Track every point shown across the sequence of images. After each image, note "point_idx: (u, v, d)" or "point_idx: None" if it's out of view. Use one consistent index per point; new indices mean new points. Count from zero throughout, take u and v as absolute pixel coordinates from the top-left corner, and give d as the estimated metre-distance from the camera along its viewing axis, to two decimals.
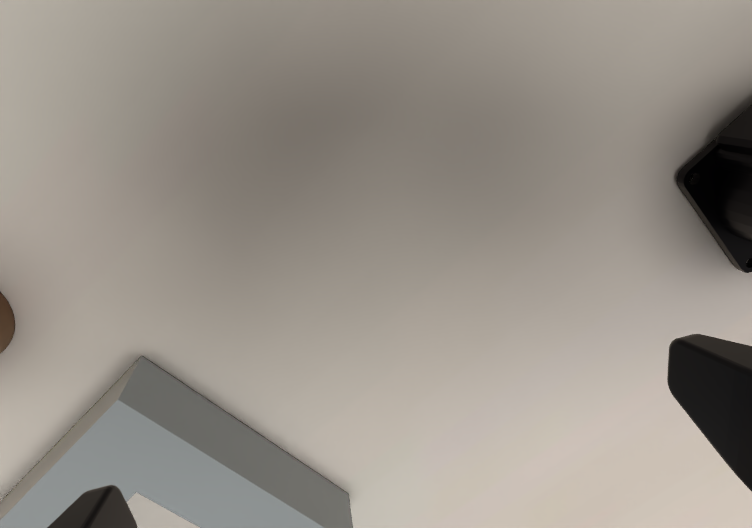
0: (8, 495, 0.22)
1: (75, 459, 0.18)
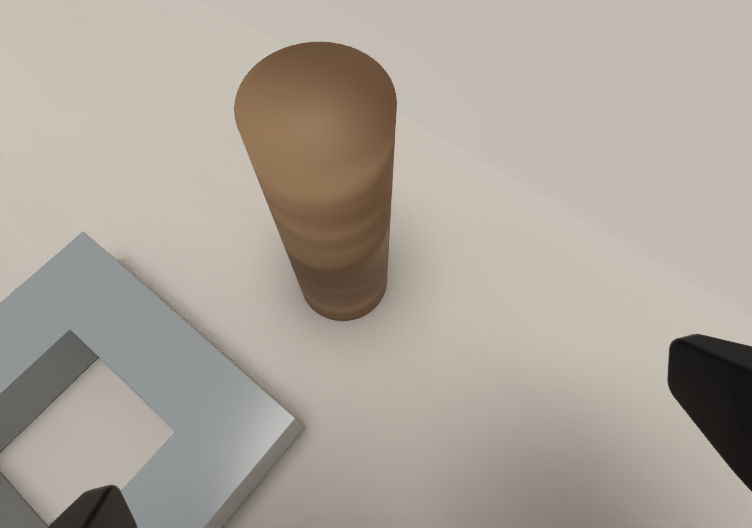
0: (159, 297, 0.23)
1: (226, 374, 0.19)
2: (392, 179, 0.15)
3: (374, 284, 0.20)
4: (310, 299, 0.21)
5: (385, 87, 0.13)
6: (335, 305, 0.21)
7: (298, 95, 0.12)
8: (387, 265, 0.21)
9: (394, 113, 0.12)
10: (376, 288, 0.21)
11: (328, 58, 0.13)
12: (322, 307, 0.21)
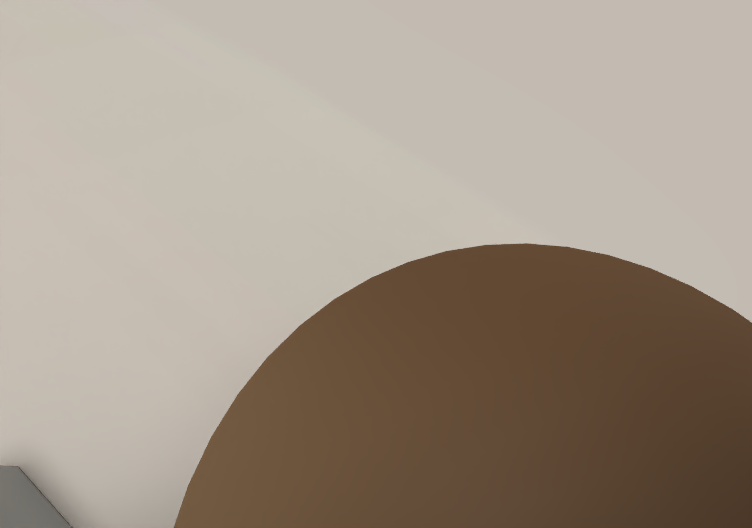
0: None
1: None
2: None
3: None
4: None
5: None
6: None
7: None
8: None
9: None
10: None
11: (572, 330, 0.03)
12: None
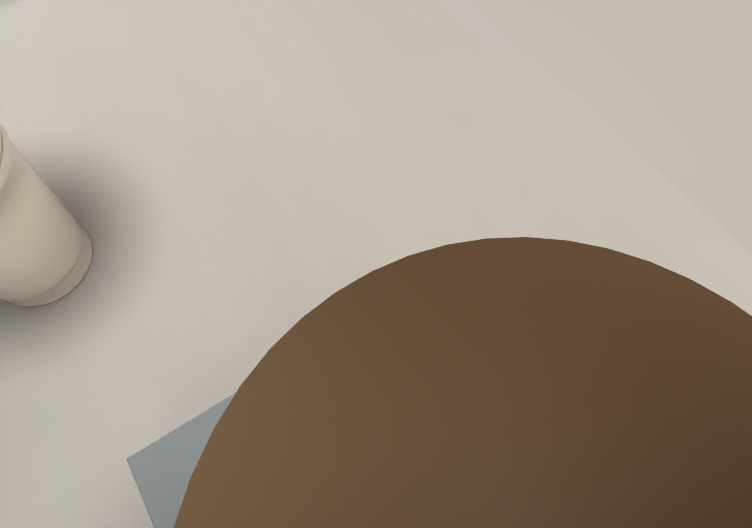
0: None
1: None
2: None
3: None
4: None
5: None
6: None
7: None
8: None
9: None
10: None
11: (571, 323, 0.03)
12: None
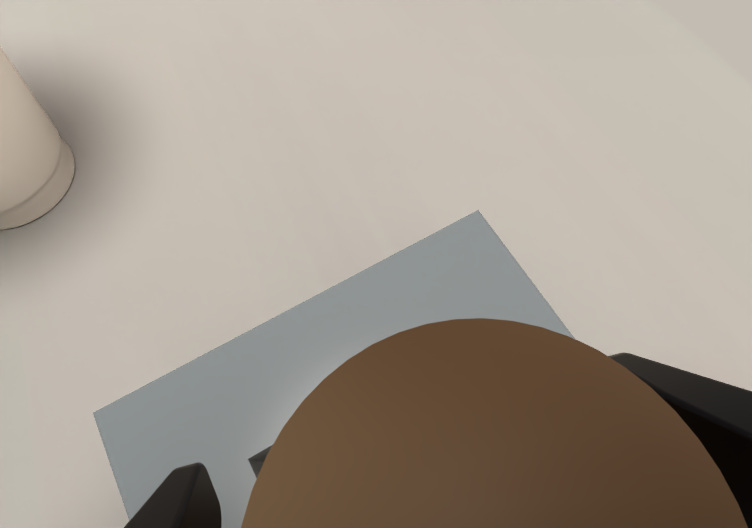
0: None
1: None
2: None
3: None
4: None
5: (711, 504, 0.04)
6: None
7: None
8: None
9: None
10: None
11: (512, 381, 0.04)
12: None
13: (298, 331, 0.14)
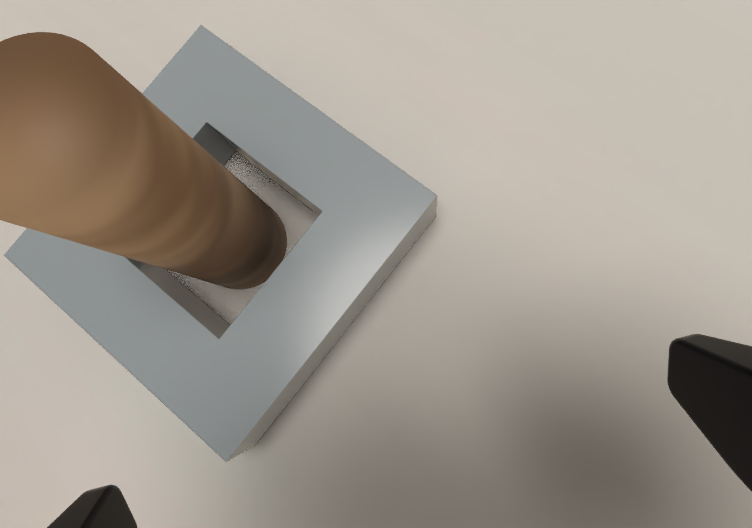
0: None
1: (365, 157, 0.19)
2: (193, 151, 0.13)
3: (259, 246, 0.19)
4: None
5: (96, 70, 0.10)
6: (234, 280, 0.19)
7: (3, 121, 0.10)
8: (269, 218, 0.20)
9: (117, 99, 0.10)
10: (266, 247, 0.19)
11: (19, 58, 0.10)
12: (225, 285, 0.20)
13: None
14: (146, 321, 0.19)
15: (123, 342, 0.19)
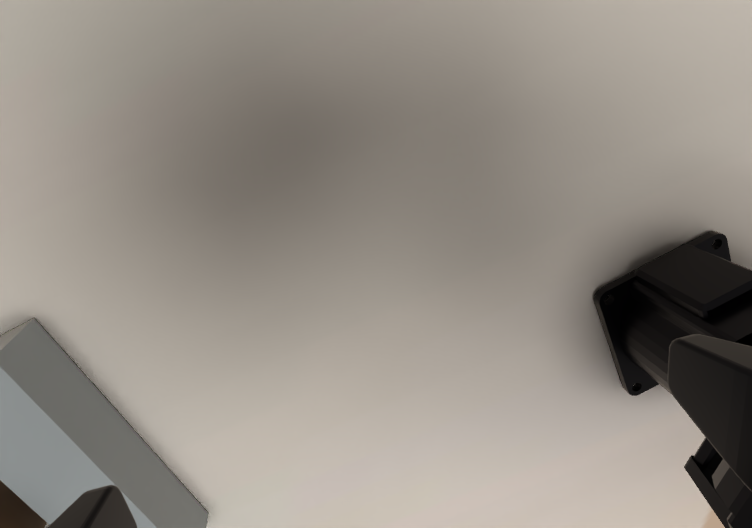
0: None
1: None
2: None
3: (3, 518, 0.19)
4: None
5: None
6: None
7: None
8: None
9: None
10: (9, 501, 0.19)
11: None
12: None
13: None
14: None
15: None
